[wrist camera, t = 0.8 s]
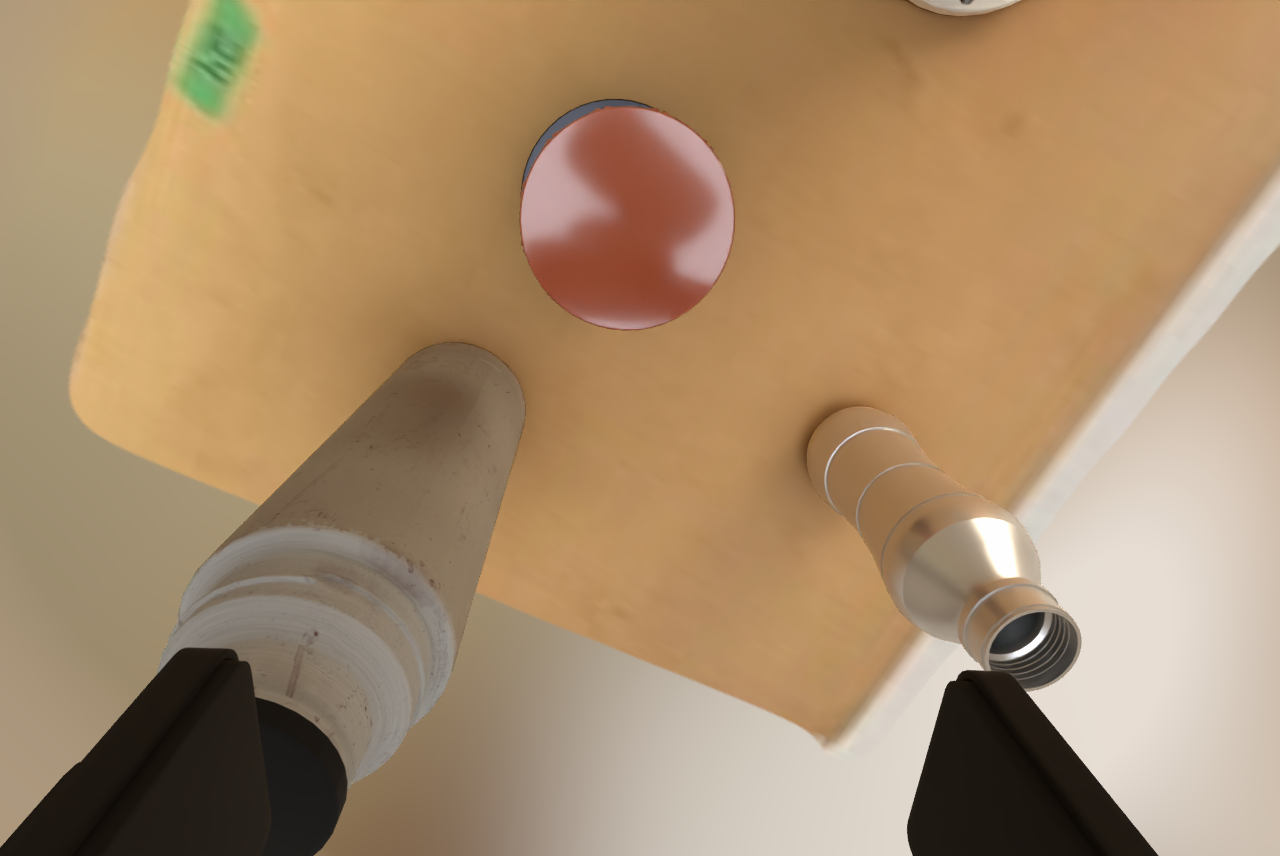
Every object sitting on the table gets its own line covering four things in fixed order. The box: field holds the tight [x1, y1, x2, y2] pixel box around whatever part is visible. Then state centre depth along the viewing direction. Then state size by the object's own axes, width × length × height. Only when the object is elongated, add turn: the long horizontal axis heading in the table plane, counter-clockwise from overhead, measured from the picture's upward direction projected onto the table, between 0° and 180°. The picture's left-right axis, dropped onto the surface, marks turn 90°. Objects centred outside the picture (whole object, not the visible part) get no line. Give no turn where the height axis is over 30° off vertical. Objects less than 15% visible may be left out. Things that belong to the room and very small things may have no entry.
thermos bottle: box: [157, 343, 525, 856], centre depth 29 cm, size 8×8×28 cm
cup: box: [519, 106, 735, 331], centre depth 27 cm, size 7×7×9 cm
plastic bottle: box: [806, 406, 1081, 691], centre depth 35 cm, size 6×7×20 cm
